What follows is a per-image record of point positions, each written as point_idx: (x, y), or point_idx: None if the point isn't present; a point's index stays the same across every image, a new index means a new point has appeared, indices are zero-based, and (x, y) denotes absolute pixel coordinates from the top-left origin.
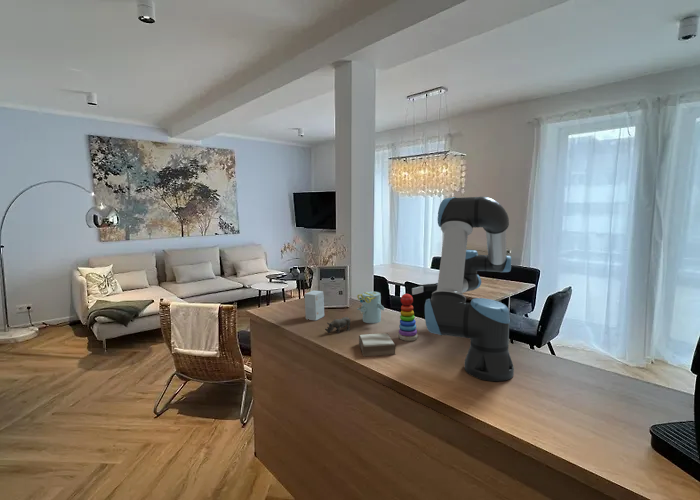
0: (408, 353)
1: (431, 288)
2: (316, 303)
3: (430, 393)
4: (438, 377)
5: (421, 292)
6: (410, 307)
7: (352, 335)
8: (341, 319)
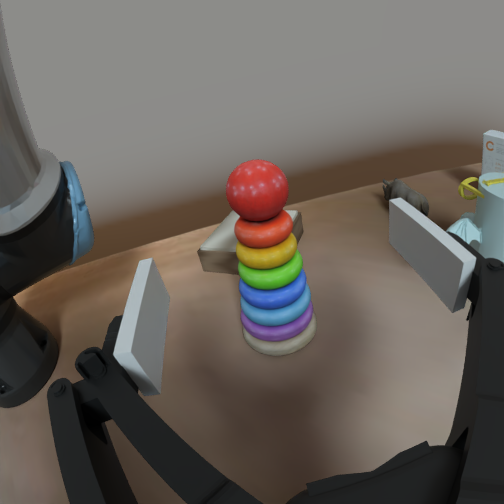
0: (186, 292)
1: (471, 361)
2: (487, 157)
3: (77, 268)
4: (84, 293)
5: (438, 294)
6: (235, 223)
7: (367, 229)
8: (405, 189)
